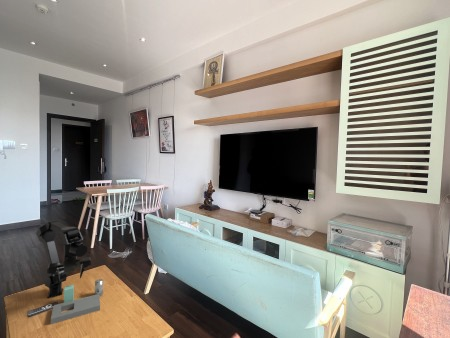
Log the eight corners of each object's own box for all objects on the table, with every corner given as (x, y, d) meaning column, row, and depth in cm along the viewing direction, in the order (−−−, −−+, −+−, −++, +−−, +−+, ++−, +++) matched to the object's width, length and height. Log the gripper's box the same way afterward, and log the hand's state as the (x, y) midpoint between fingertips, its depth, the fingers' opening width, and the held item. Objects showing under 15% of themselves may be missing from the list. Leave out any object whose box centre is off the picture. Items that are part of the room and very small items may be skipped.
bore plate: (53, 310, 111) (53, 305, 111) (99, 298, 121) (99, 293, 121) (50, 324, 101) (50, 319, 101) (100, 310, 112) (100, 305, 112)
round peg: (94, 293, 125) (94, 280, 125) (102, 291, 127) (102, 278, 127) (94, 297, 122) (95, 283, 121) (103, 295, 124) (103, 281, 123)
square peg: (64, 300, 118) (64, 286, 118) (73, 298, 120) (73, 284, 120) (63, 305, 115) (64, 290, 114) (73, 302, 117) (73, 288, 116)
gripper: (45, 262, 104) (45, 293, 105) (91, 254, 114) (91, 283, 115) (48, 253, 113) (48, 282, 114) (90, 246, 124) (90, 273, 124)
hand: (70, 280), depth 117 cm, fingers open, 9 cm apart
